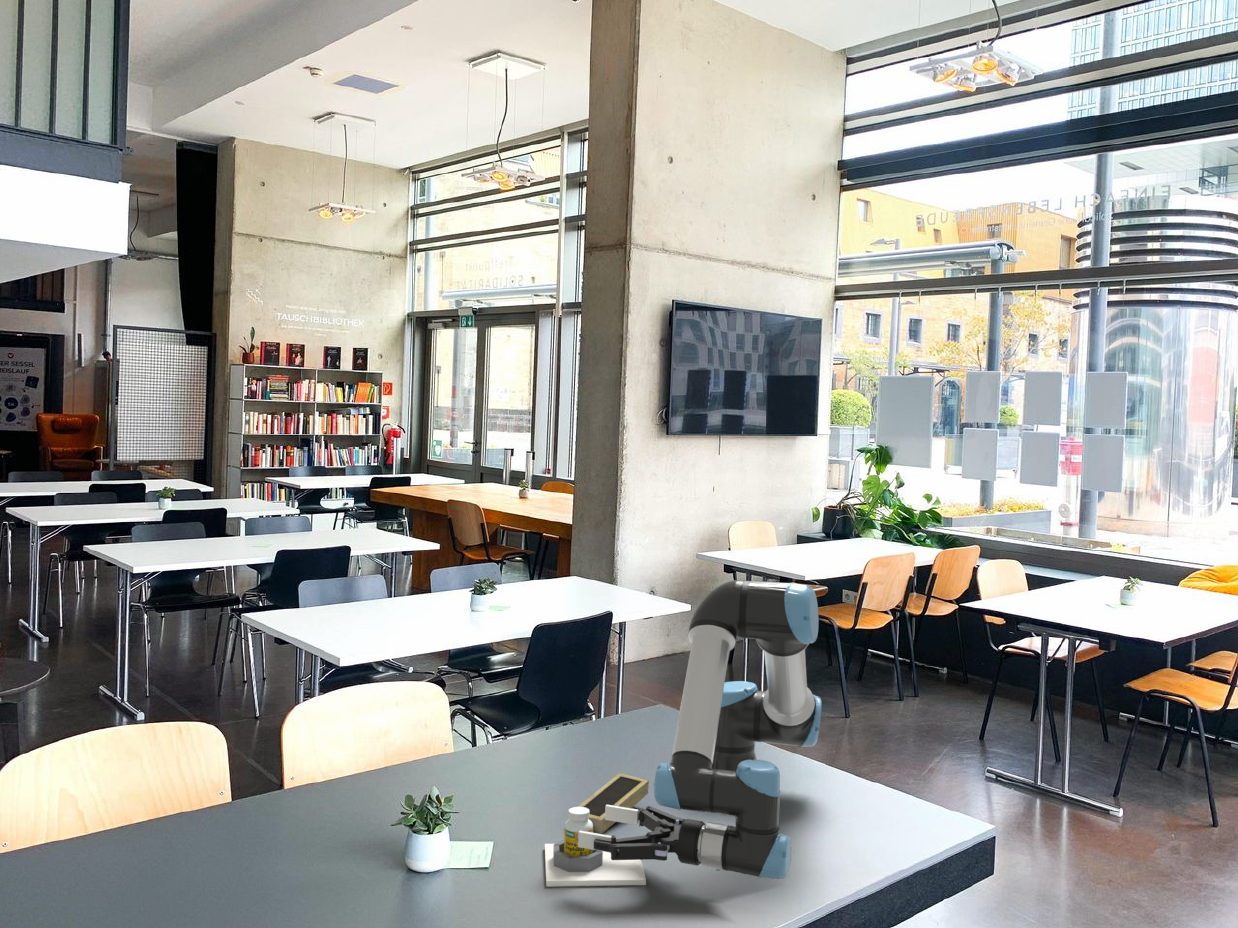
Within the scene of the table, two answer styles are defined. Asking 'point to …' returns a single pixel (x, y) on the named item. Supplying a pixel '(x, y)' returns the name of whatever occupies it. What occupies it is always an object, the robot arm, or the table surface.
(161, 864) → the table surface
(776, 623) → the robot arm
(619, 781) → the box
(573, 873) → the plate
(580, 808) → the supplement bottle
